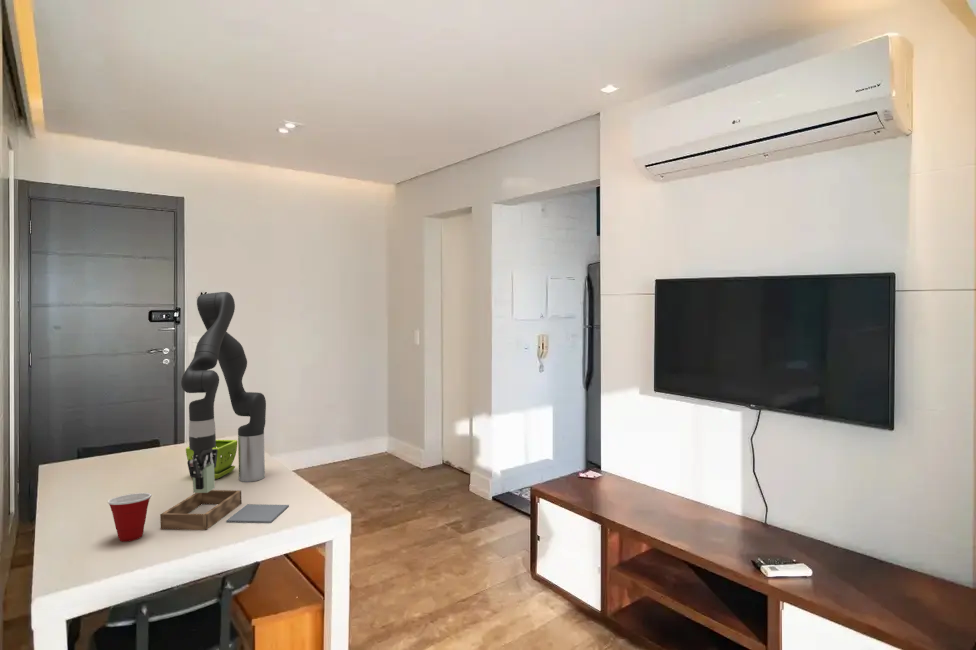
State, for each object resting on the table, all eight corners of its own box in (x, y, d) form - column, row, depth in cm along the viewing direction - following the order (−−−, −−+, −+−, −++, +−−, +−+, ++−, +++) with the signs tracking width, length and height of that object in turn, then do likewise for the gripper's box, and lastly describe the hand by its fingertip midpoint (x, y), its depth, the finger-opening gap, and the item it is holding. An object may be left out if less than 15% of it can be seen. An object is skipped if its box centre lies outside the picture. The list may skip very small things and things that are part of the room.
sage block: (201, 487, 183) (200, 463, 182) (214, 487, 182) (214, 463, 182) (193, 492, 178) (192, 467, 178) (207, 492, 178) (206, 467, 178)
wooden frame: (200, 503, 192) (200, 489, 191) (241, 503, 191) (241, 490, 191) (160, 529, 170) (160, 514, 169) (206, 530, 169) (206, 515, 169)
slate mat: (247, 505, 189) (247, 504, 189) (288, 506, 188) (288, 504, 188) (226, 522, 175) (226, 520, 175) (270, 523, 174) (270, 521, 174)
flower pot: (239, 470, 228) (238, 439, 228) (219, 481, 214) (219, 448, 214) (206, 469, 230) (205, 438, 229) (184, 480, 216) (184, 447, 215)
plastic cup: (152, 527, 171) (151, 487, 171) (152, 540, 162) (151, 498, 161) (109, 534, 166) (108, 494, 165) (106, 548, 156) (105, 505, 156)
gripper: (202, 427, 187) (204, 478, 187) (177, 438, 172) (179, 494, 173) (225, 427, 186) (226, 479, 187) (201, 439, 172) (203, 494, 173)
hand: (204, 486), depth 180 cm, fingers closed on sage block, 4 cm apart
